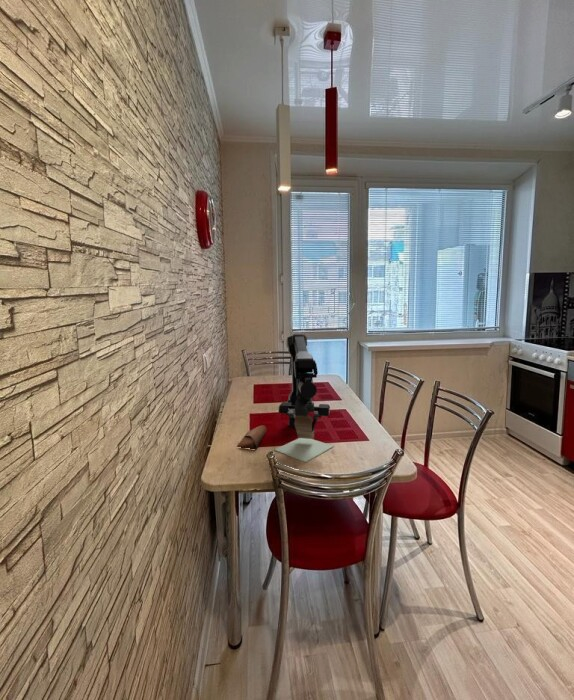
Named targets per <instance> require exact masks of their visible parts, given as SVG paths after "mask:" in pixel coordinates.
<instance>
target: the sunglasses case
mask: <svg viewBox="0 0 574 700" xmlns="http://www.w3.org/2000/svg"><path fill="white" fill-rule="evenodd" d="M267 431H268V429H267V427H266V426H265V425H263V424H262V425H259V426H257V427H254V428H253V429H251V430H249V431H247V432H246V433H245V434H244V436H243V438H242V439H241V440H240V441H239V443H238V444H237V445H236V447H241V448H250V449H256V450H257V449H258V447H259V445H260V443H261V441H262V440H263V438H264V436H265V435H266V434H267Z"/></svg>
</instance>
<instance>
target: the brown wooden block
mask: <svg viewBox="0 0 574 700" xmlns="http://www.w3.org/2000/svg"><path fill="white" fill-rule="evenodd" d="M312 424H313V416H312V415H308V416H296V415H295V422H294V425H295V428H296V430H295V431H296V435H297V439H298V438H307V439H314V438H315V429H314V430H313V431H312ZM295 428H294V429H295ZM314 440H315V439H314Z"/></svg>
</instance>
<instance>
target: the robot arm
mask: <svg viewBox="0 0 574 700" xmlns="http://www.w3.org/2000/svg"><path fill="white" fill-rule="evenodd" d="M307 346H308V337H307V336H306V334H303V333H294V334H292V335H290V336H288V337H286V348H287V350H288V353H289V355H290V357H291V389H292V390H291V391H290V392H289V394H288V399H287V401H282V402H281V403H280V404H279V406H278V413H279V414H285V415H286V416H288V423H286V427H287V426H288V427H291V428H294V430H295V431H296V428H295V425H294V422H295V415H296V416H309V414H312V413H314V414H313V416H312V421H313V424H312V431H313V430H314V431H315V427H316V424H317V421H318V420H319V418H322V416H323V417H328V416H330V412H331V406H330V404H328V403H319V404H318V406H315V402H313V398H314V397H315V396H316V395H317V392H318V390H317V386H316V385H315V383H314V381H313V379H314V378H317V377H318V374H319V371H318V367H317V362H316V360H315V359H314V356H313V355H312V354H310V353H309V352H308V347H307Z"/></svg>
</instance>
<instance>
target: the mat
mask: <svg viewBox="0 0 574 700" xmlns="http://www.w3.org/2000/svg"><path fill="white" fill-rule="evenodd" d="M333 448H335V447H334V445H332V444H328V443H327V442H322V441H320V440H316V439H307V438H298V437H297V438H296V439H294V440H292V441H289V442H287V443H285V444H284V445H282V446H281V445H280V446H279V447H277V448H275V449H274V451H275V452H277V453H281V454H283V455H286V456H288V457H290V458H293V459H296V460H298V461H302V462H304V463H307V462H309V461H312V460H313V459H315V458H317V457H318V456H321V454H324V453H325V452H328V451H329V450H332V449H333Z"/></svg>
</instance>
